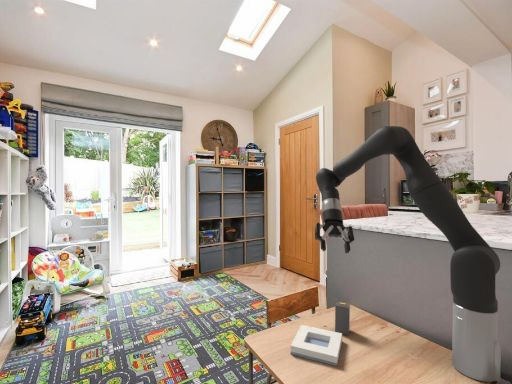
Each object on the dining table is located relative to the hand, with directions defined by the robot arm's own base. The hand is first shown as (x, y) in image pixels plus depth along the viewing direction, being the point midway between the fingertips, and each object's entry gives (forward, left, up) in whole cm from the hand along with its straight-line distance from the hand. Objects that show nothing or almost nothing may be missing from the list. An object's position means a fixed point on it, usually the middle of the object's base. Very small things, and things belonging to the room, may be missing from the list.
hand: (335, 251), depth 97 cm
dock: (+3, +19, -25) cm, 32 cm away
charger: (-3, +6, -25) cm, 26 cm away
